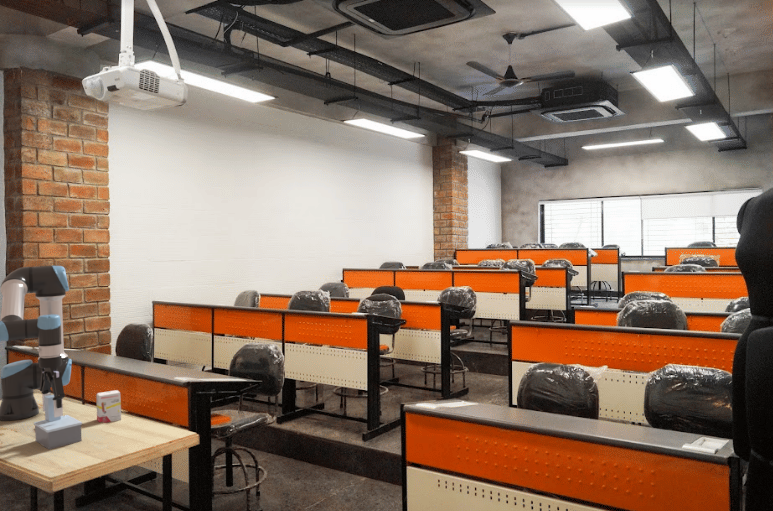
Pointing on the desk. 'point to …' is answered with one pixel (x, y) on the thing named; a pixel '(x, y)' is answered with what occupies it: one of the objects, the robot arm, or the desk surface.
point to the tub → (58, 437)
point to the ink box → (108, 406)
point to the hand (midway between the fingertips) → (52, 413)
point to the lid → (55, 418)
